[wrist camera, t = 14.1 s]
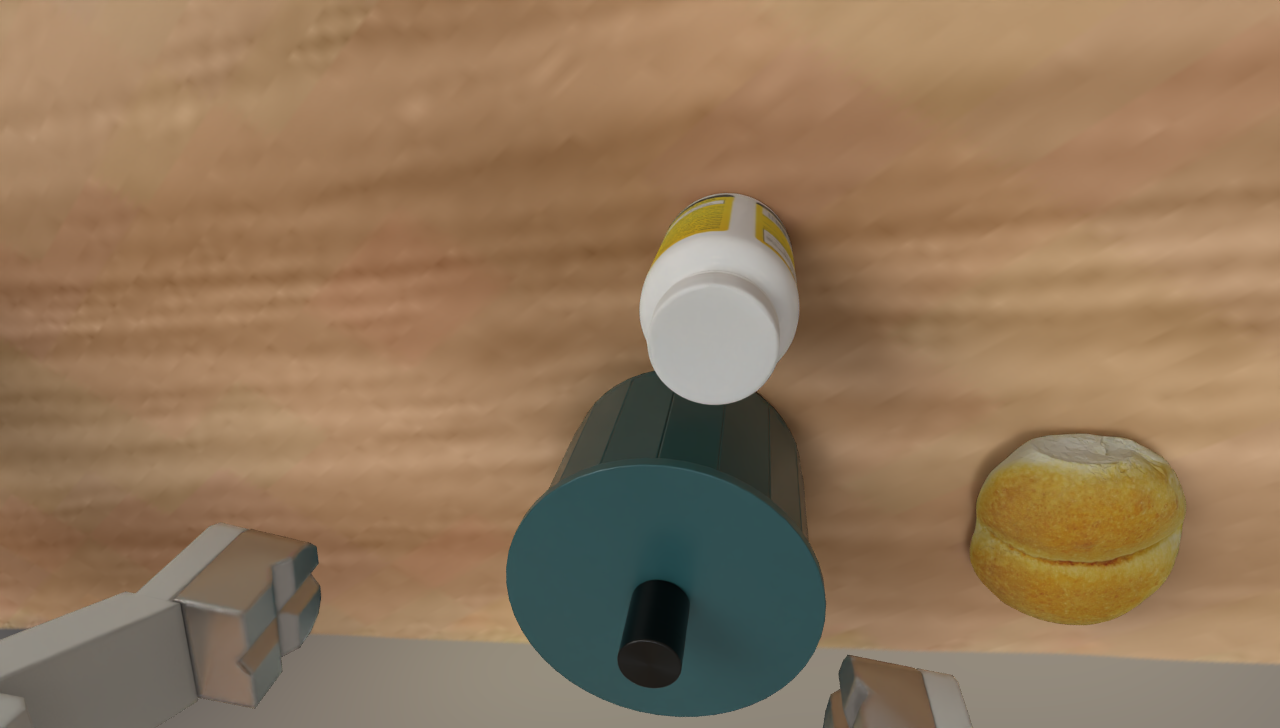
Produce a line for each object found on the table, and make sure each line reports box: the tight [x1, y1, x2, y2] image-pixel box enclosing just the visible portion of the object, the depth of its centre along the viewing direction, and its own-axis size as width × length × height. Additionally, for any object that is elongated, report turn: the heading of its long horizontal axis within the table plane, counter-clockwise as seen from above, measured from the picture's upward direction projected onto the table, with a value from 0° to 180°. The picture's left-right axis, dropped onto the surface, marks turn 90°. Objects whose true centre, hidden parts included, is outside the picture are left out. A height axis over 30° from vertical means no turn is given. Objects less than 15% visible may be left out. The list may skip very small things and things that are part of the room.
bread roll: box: [970, 434, 1186, 625], centre depth 31 cm, size 8×9×4 cm
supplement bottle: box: [639, 193, 799, 405], centre depth 26 cm, size 5×5×10 cm
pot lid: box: [506, 458, 826, 717], centre depth 26 cm, size 12×12×4 cm
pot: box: [549, 371, 809, 542], centre depth 31 cm, size 11×11×8 cm
